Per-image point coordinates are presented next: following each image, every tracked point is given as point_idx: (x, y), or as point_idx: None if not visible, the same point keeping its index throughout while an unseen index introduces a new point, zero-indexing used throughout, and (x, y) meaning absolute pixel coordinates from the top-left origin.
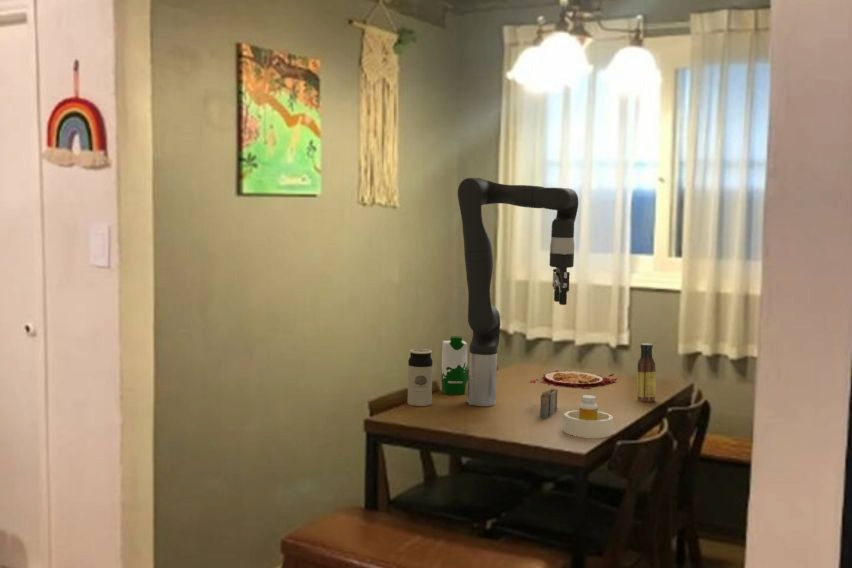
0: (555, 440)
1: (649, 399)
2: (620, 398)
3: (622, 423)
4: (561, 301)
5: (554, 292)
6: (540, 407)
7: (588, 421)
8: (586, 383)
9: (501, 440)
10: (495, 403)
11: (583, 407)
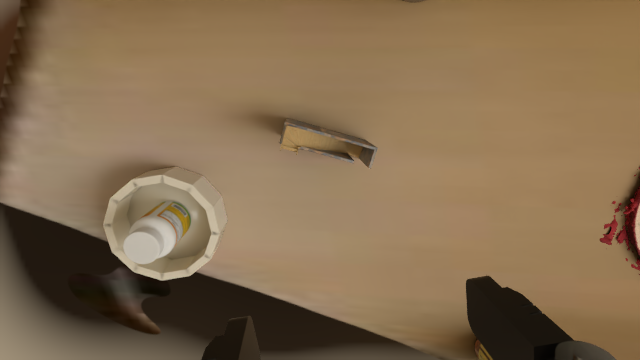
0: (79, 147)
1: (476, 352)
2: None
3: (272, 286)
4: (206, 349)
5: (523, 325)
6: (286, 119)
7: (104, 226)
8: (635, 237)
9: (33, 22)
10: (410, 1)
11: (132, 225)
